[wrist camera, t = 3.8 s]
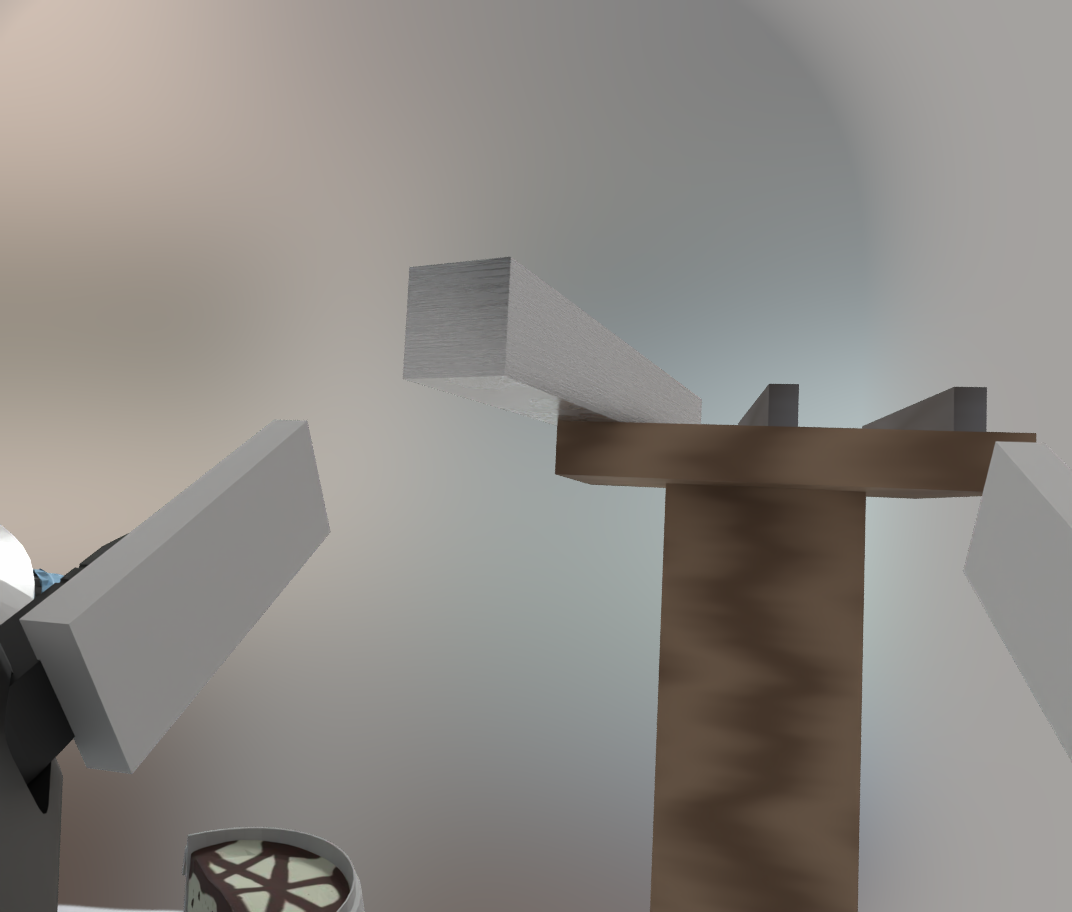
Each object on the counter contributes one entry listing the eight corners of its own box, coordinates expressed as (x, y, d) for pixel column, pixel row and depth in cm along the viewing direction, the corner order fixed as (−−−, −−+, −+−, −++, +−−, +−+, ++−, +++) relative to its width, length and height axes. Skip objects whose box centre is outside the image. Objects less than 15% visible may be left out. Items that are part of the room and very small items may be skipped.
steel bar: (402, 378, 19) (409, 267, 19) (646, 452, 41) (648, 400, 41) (504, 376, 18) (510, 256, 18) (699, 453, 40) (701, 399, 40)
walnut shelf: (517, 1283, 25) (559, 380, 27) (566, 1035, 37) (593, 419, 39) (1031, 1415, 22) (1036, 388, 24) (906, 1099, 34) (916, 427, 36)
